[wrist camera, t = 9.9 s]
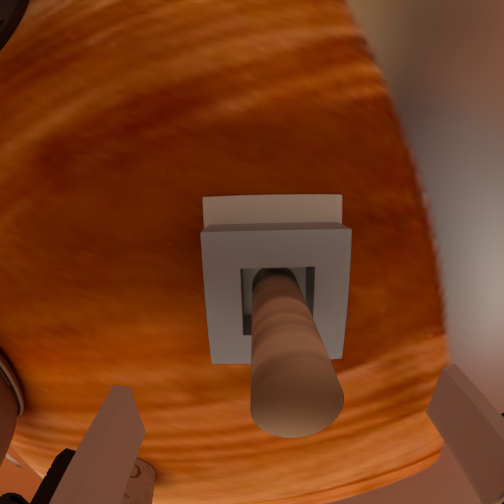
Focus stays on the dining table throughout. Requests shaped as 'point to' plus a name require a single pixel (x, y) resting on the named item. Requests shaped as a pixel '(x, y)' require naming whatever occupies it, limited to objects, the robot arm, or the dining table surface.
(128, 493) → the mug
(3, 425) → the potted plant
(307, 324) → the peg
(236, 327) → the socket
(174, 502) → the dining table surface
